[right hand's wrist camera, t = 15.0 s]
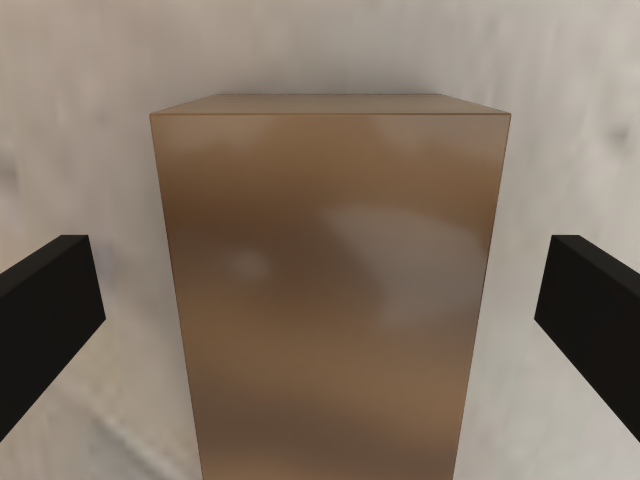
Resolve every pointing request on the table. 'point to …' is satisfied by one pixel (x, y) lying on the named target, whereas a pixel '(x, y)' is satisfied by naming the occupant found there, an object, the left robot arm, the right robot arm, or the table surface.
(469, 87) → the table surface
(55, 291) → the right robot arm
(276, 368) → the wide beam
